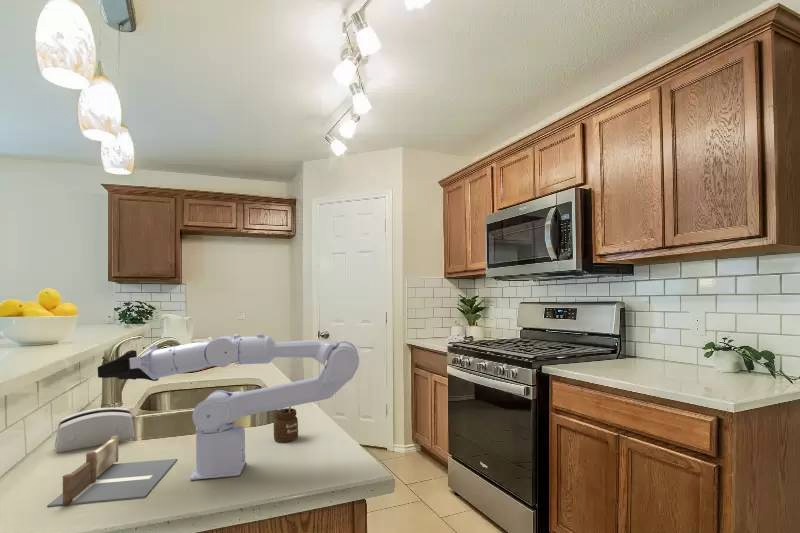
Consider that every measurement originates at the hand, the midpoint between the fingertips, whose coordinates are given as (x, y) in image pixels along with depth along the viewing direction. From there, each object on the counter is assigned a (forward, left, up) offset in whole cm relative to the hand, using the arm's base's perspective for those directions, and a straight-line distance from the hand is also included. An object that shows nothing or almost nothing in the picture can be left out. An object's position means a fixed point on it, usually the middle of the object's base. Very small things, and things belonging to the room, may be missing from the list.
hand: (108, 373), depth 95 cm
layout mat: (-3, +1, -21) cm, 21 cm away
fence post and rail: (+2, +6, -21) cm, 22 cm away
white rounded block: (+13, -25, -22) cm, 36 cm away
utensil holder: (-34, -17, -21) cm, 43 cm away
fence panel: (+2, -4, -21) cm, 21 cm away
